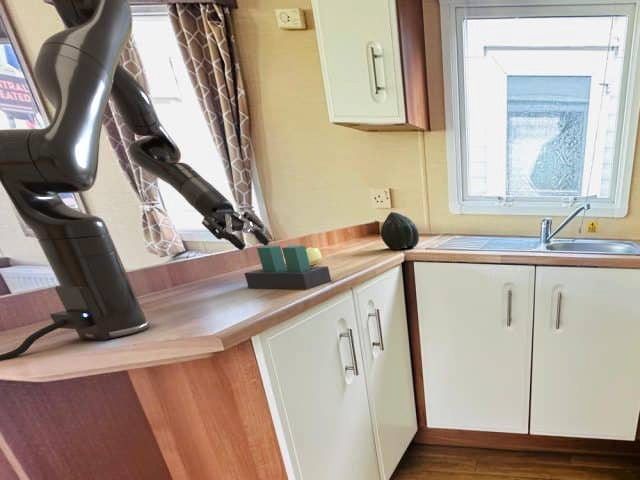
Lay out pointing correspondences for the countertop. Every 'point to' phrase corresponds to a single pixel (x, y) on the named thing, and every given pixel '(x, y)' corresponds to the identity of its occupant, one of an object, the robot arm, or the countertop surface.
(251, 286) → the mount
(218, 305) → the countertop surface
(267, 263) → the green block
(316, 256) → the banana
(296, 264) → the block
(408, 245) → the squash
